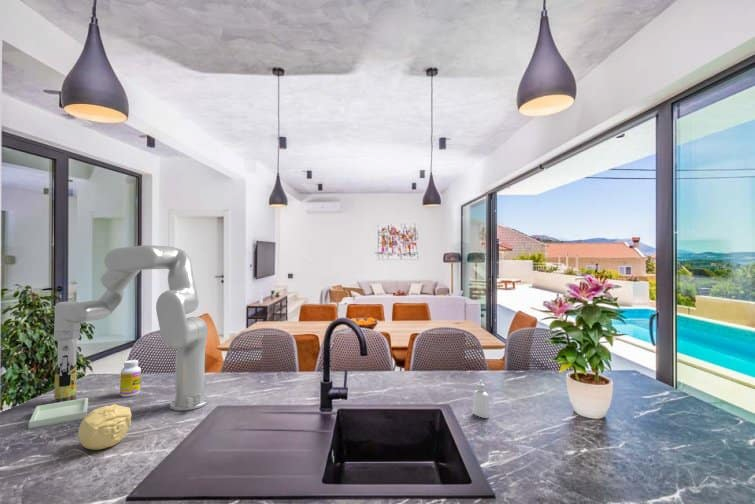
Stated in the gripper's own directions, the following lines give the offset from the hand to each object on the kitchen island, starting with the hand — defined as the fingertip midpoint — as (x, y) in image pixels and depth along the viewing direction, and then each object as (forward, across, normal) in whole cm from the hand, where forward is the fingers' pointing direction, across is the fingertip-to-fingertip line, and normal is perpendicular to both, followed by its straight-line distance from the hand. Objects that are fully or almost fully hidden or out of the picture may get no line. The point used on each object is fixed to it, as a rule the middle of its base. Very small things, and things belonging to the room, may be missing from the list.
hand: (65, 383), depth 139 cm
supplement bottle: (+7, -5, -20) cm, 22 cm away
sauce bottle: (+7, 0, 0) cm, 7 cm away
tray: (+7, -16, 0) cm, 17 cm away
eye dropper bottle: (+6, -98, -116) cm, 152 cm away
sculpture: (+7, -49, -12) cm, 51 cm away
